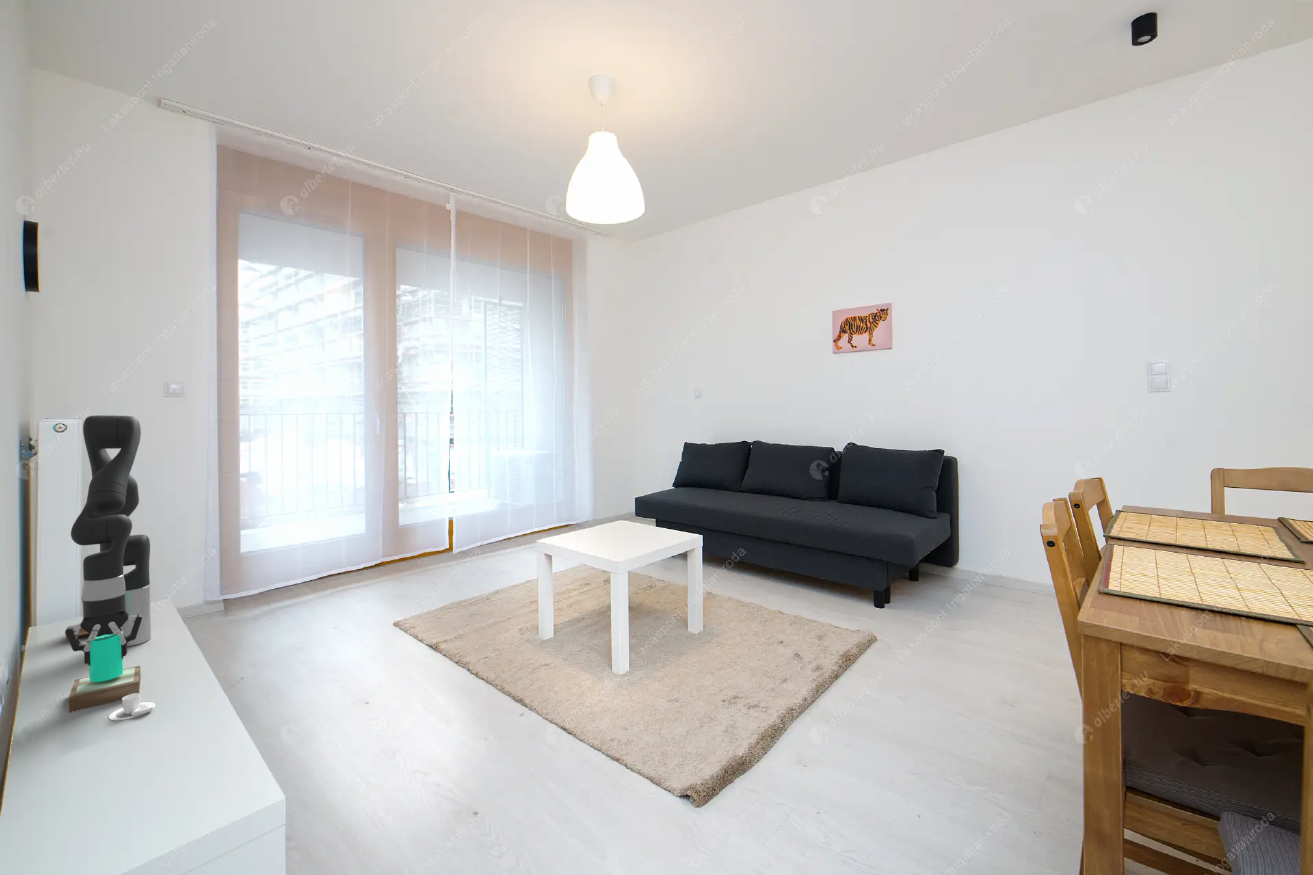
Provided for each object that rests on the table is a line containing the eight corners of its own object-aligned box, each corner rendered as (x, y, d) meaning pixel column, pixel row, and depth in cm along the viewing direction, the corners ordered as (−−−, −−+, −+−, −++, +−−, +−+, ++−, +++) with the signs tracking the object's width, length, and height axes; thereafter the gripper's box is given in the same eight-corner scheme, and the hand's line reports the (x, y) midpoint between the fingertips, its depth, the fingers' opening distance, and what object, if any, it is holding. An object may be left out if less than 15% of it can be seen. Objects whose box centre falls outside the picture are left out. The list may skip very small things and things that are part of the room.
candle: (130, 671, 139) (128, 625, 138) (104, 682, 133) (102, 634, 133) (109, 669, 140) (108, 624, 139) (82, 681, 134) (81, 633, 133)
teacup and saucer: (157, 713, 128) (156, 697, 128) (109, 727, 123) (108, 710, 122) (153, 700, 134) (153, 684, 134) (108, 713, 129) (107, 696, 128)
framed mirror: (75, 693, 137) (74, 678, 137) (140, 678, 145) (140, 664, 145) (68, 712, 128) (68, 697, 128) (139, 695, 136) (138, 680, 136)
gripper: (144, 585, 143) (145, 648, 144) (64, 596, 133) (66, 664, 134) (143, 592, 138) (144, 658, 138) (59, 604, 128) (62, 675, 129)
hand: (106, 660), depth 136 cm, fingers closed on candle, 4 cm apart
